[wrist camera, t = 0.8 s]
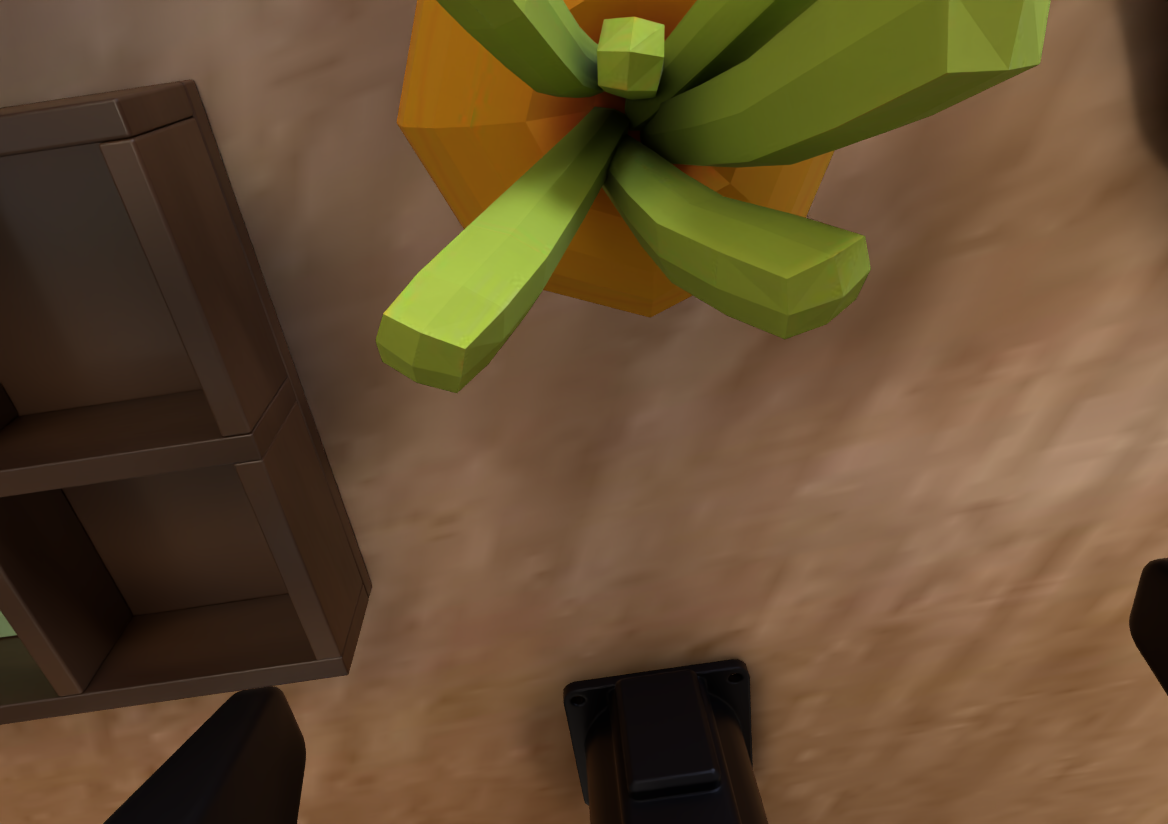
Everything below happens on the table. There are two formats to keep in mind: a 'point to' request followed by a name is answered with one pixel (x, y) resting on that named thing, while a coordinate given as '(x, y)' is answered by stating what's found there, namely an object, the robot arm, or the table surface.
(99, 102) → the wooden compartment organizer
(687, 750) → the robot arm
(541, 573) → the table surface
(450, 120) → the carrot
